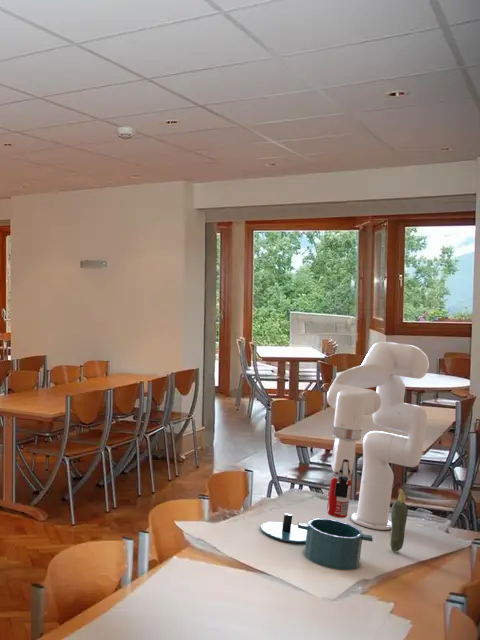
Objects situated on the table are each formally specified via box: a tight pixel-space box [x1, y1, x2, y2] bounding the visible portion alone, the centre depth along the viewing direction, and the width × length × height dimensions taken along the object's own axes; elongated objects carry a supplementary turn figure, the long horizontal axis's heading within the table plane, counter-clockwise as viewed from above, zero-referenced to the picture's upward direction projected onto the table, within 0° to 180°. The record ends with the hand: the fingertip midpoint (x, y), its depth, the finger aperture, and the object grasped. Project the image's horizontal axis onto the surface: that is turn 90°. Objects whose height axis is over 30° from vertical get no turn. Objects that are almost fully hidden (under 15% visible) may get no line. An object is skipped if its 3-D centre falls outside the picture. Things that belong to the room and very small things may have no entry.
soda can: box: [326, 473, 352, 519], centre depth 218 cm, size 6×6×12 cm
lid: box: [260, 512, 307, 543], centre depth 237 cm, size 16×16×7 cm
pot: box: [297, 518, 374, 571], centre depth 220 cm, size 15×20×10 cm
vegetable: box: [389, 488, 409, 553], centre depth 227 cm, size 4×4×20 cm
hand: (339, 492), depth 218 cm, fingers closed on soda can, 5 cm apart
